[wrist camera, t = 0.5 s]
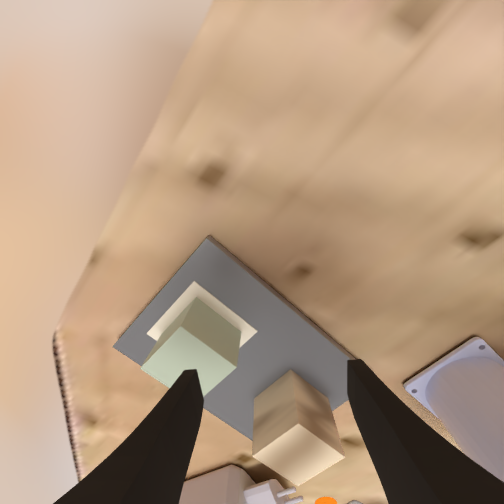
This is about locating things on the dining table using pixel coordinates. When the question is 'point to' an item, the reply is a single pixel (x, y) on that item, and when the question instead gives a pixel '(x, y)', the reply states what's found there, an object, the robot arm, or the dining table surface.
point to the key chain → (332, 501)
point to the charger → (234, 489)
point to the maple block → (295, 429)
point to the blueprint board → (243, 334)
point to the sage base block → (195, 347)
